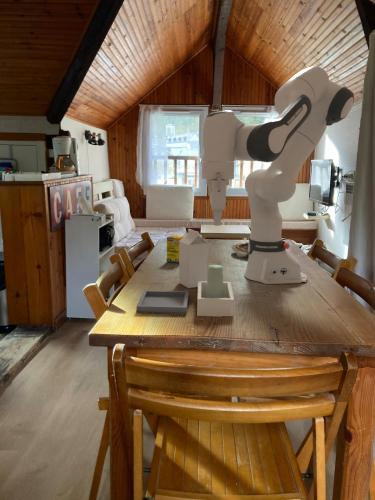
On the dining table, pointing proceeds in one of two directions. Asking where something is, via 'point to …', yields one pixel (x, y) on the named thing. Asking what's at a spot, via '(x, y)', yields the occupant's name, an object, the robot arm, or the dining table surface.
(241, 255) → the pie
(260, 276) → the robot arm
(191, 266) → the milk carton
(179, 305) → the tray
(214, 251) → the dining table surface
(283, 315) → the dining table surface
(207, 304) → the white open box
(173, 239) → the supplement box
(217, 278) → the dowel pin
